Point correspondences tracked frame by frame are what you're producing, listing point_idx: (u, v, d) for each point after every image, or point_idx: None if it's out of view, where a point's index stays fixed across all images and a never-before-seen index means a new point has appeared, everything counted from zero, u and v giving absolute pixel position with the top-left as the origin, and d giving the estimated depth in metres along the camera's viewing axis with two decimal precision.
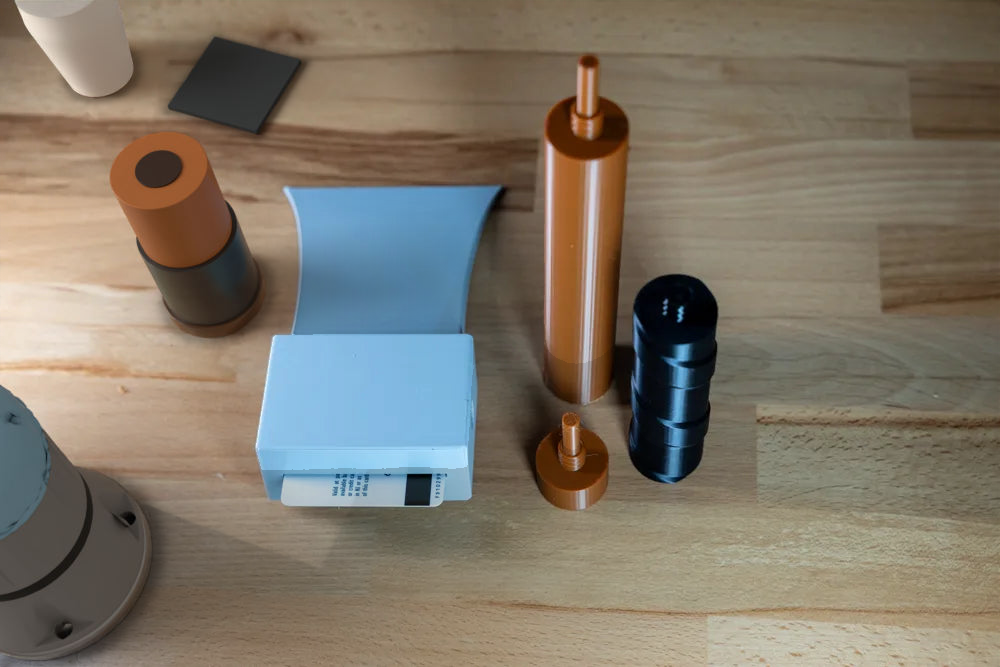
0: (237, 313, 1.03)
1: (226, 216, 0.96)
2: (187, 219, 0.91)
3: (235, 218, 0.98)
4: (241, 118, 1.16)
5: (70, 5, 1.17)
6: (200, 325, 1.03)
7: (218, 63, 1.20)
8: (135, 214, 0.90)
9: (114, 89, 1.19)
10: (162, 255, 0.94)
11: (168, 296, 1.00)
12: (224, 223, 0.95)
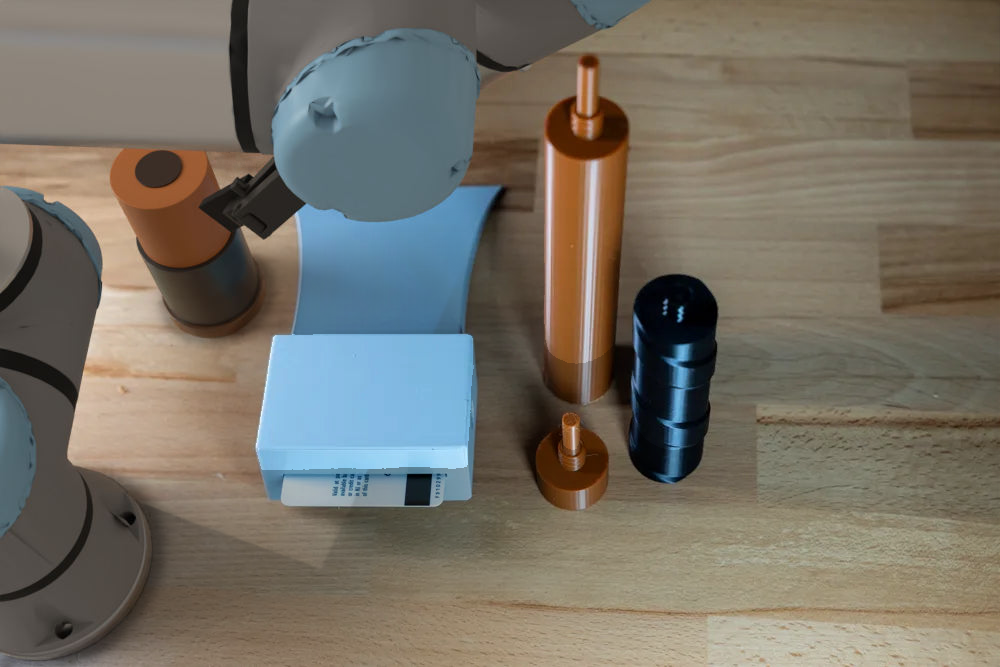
0: (237, 313, 1.03)
1: None
2: (187, 219, 0.91)
3: None
4: None
5: None
6: (200, 325, 1.03)
7: None
8: (135, 214, 0.90)
9: None
10: (162, 255, 0.94)
11: (168, 296, 1.00)
12: None
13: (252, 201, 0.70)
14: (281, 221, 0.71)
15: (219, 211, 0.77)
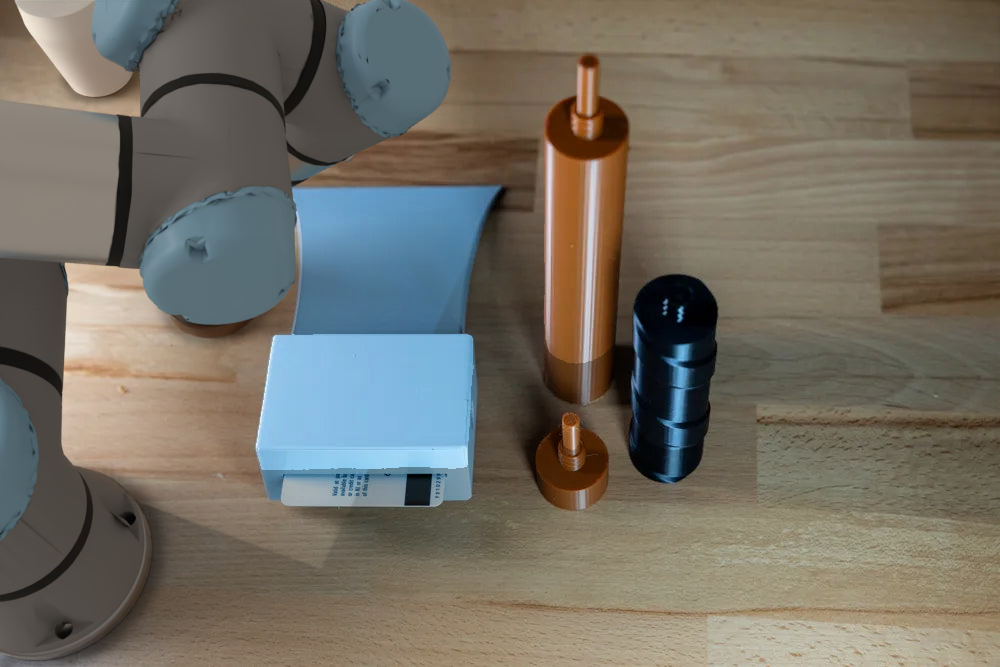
0: None
1: None
2: None
3: None
4: None
5: (70, 5, 1.17)
6: (200, 325, 1.03)
7: None
8: None
9: (114, 89, 1.19)
10: None
11: None
12: None
13: None
14: None
15: None
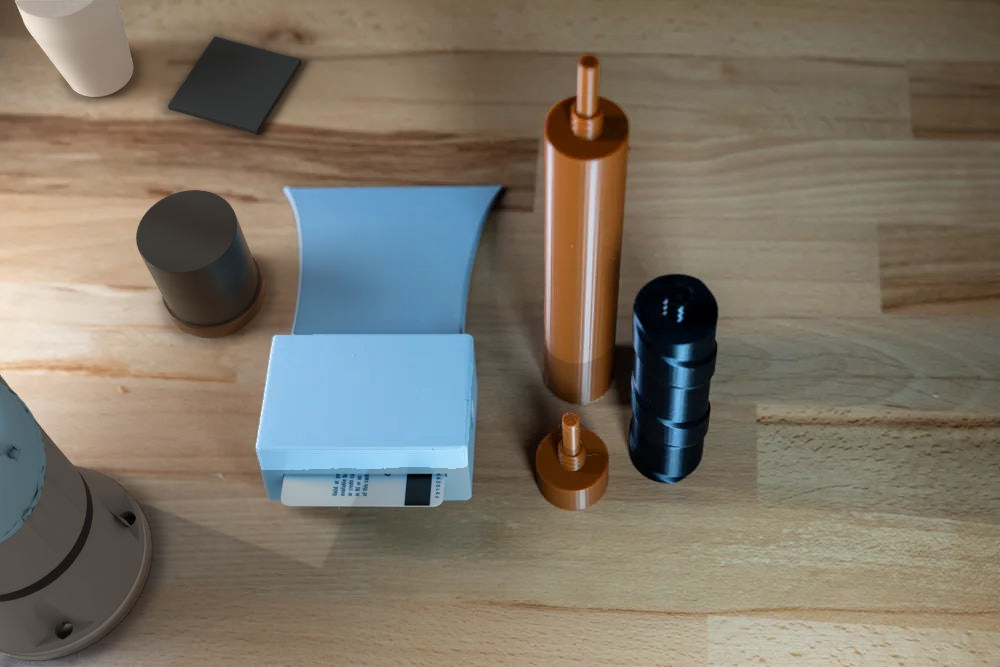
0: (237, 313, 1.03)
1: None
2: None
3: (235, 218, 0.98)
4: (241, 118, 1.16)
5: (70, 5, 1.17)
6: (200, 325, 1.03)
7: (218, 63, 1.20)
8: None
9: (114, 89, 1.19)
10: None
11: (168, 296, 1.00)
12: None
13: None
14: None
15: None
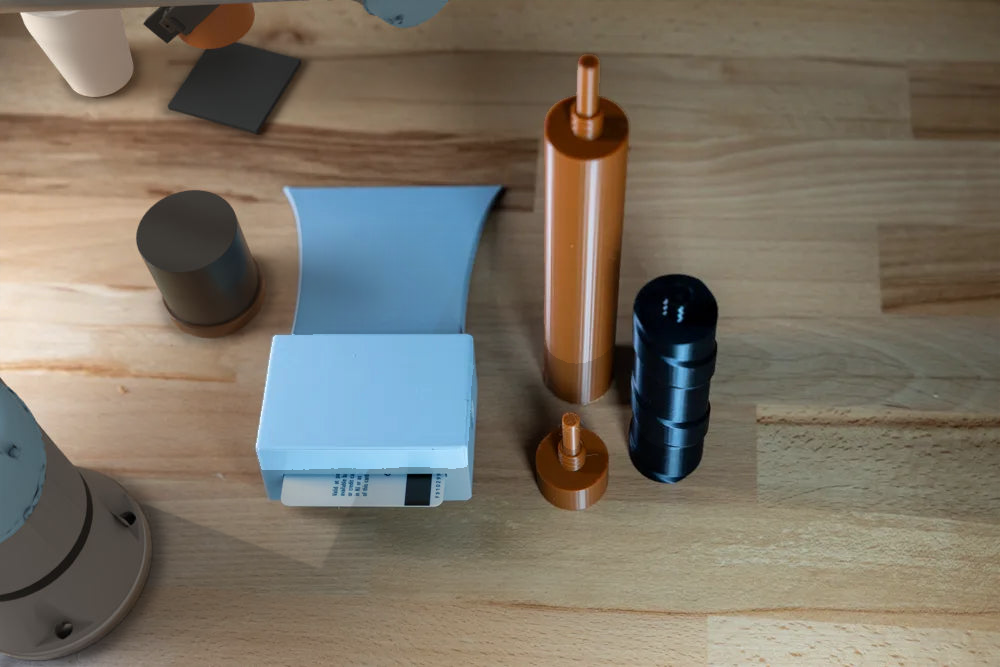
0: (237, 313, 1.03)
1: (250, 4, 1.09)
2: None
3: (235, 218, 0.98)
4: (241, 118, 1.16)
5: None
6: (200, 325, 1.03)
7: (218, 63, 1.20)
8: None
9: (114, 89, 1.19)
10: (194, 34, 1.08)
11: (168, 296, 1.00)
12: (248, 9, 1.09)
13: (173, 9, 1.00)
14: (194, 25, 1.01)
15: (157, 25, 1.07)
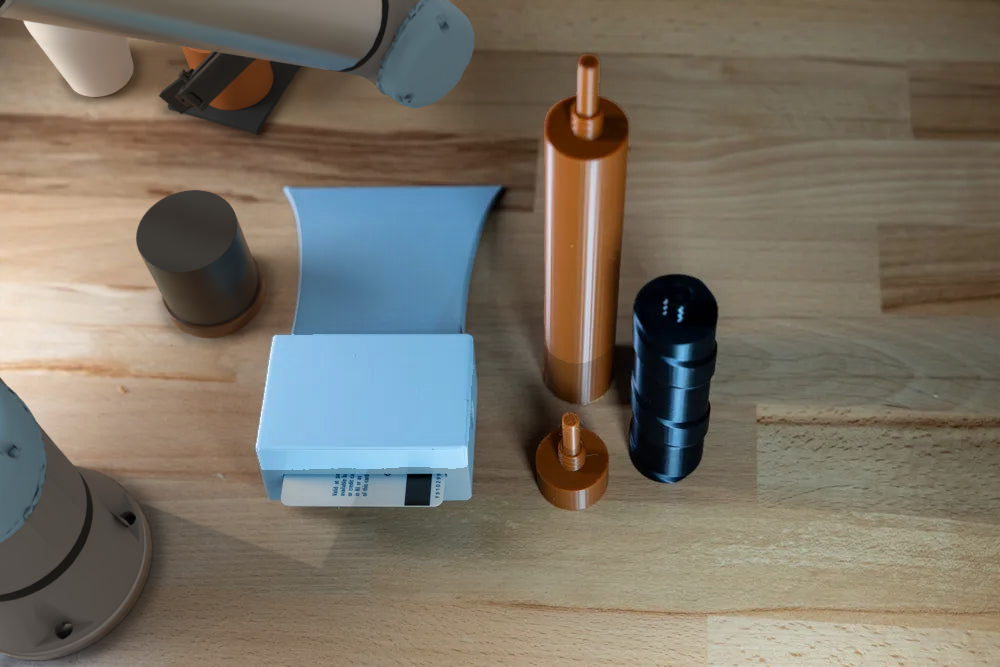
0: (237, 313, 1.03)
1: (269, 68, 1.17)
2: None
3: (235, 218, 0.98)
4: (241, 118, 1.16)
5: None
6: (200, 325, 1.03)
7: None
8: (197, 58, 1.11)
9: (114, 89, 1.19)
10: (217, 97, 1.15)
11: (168, 296, 1.00)
12: (268, 73, 1.16)
13: (192, 83, 1.04)
14: (212, 97, 1.05)
15: (173, 98, 1.11)
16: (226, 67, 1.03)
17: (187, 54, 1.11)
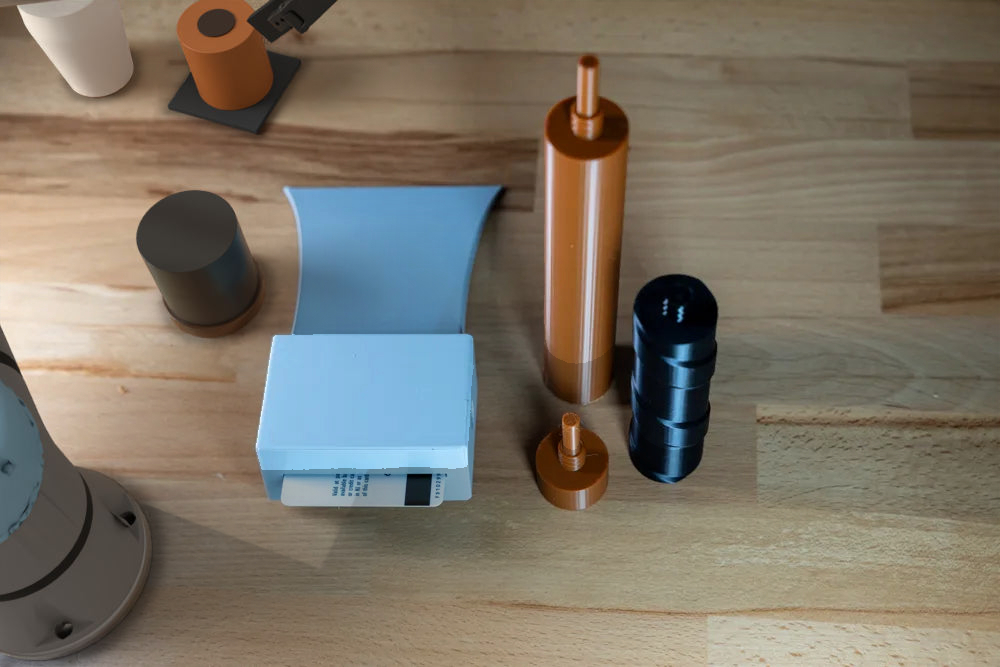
0: (237, 313, 1.03)
1: (269, 68, 1.17)
2: (239, 64, 1.12)
3: (235, 218, 0.98)
4: (241, 118, 1.16)
5: (70, 5, 1.17)
6: (200, 325, 1.03)
7: None
8: (197, 58, 1.11)
9: (114, 89, 1.19)
10: (217, 97, 1.15)
11: (168, 296, 1.00)
12: (268, 73, 1.16)
13: None
14: (316, 17, 0.90)
15: (263, 23, 0.97)
16: None
17: (187, 54, 1.11)
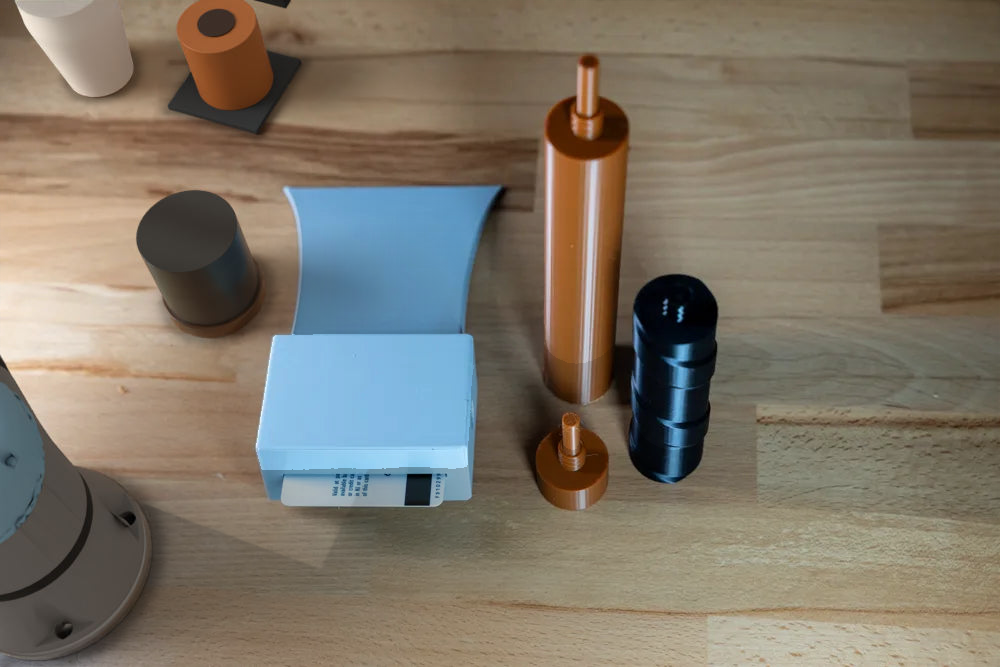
0: (237, 313, 1.03)
1: (269, 68, 1.17)
2: (239, 64, 1.12)
3: (235, 218, 0.98)
4: (241, 118, 1.16)
5: (70, 5, 1.17)
6: (200, 325, 1.03)
7: None
8: (197, 58, 1.11)
9: (114, 89, 1.19)
10: (217, 97, 1.15)
11: (168, 296, 1.00)
12: (268, 73, 1.16)
13: None
14: None
15: None
16: None
17: (187, 54, 1.11)
